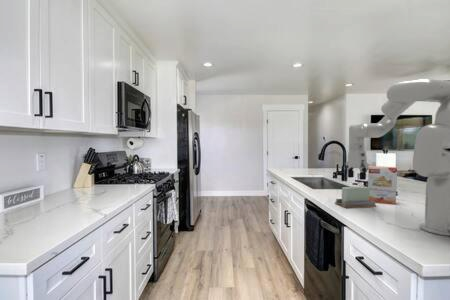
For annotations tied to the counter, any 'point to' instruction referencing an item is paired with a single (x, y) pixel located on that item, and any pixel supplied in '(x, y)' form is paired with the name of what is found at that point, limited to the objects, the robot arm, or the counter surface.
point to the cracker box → (382, 184)
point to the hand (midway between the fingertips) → (356, 178)
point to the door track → (355, 204)
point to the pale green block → (355, 194)
